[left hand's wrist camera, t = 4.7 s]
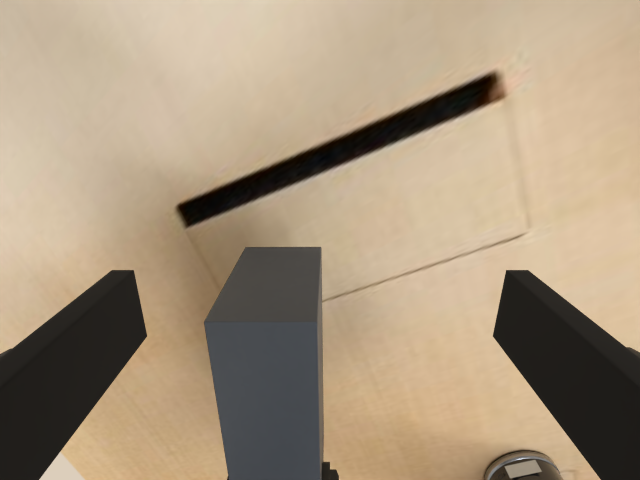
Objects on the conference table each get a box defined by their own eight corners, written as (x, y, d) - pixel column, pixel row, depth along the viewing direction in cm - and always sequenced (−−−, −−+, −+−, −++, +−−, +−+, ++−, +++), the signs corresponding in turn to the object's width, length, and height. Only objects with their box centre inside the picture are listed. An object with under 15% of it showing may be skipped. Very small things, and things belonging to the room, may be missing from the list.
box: (245, 246, 29) (203, 321, 19) (321, 246, 29) (317, 322, 19) (263, 434, 37) (240, 554, 27) (323, 434, 37) (321, 556, 27)
